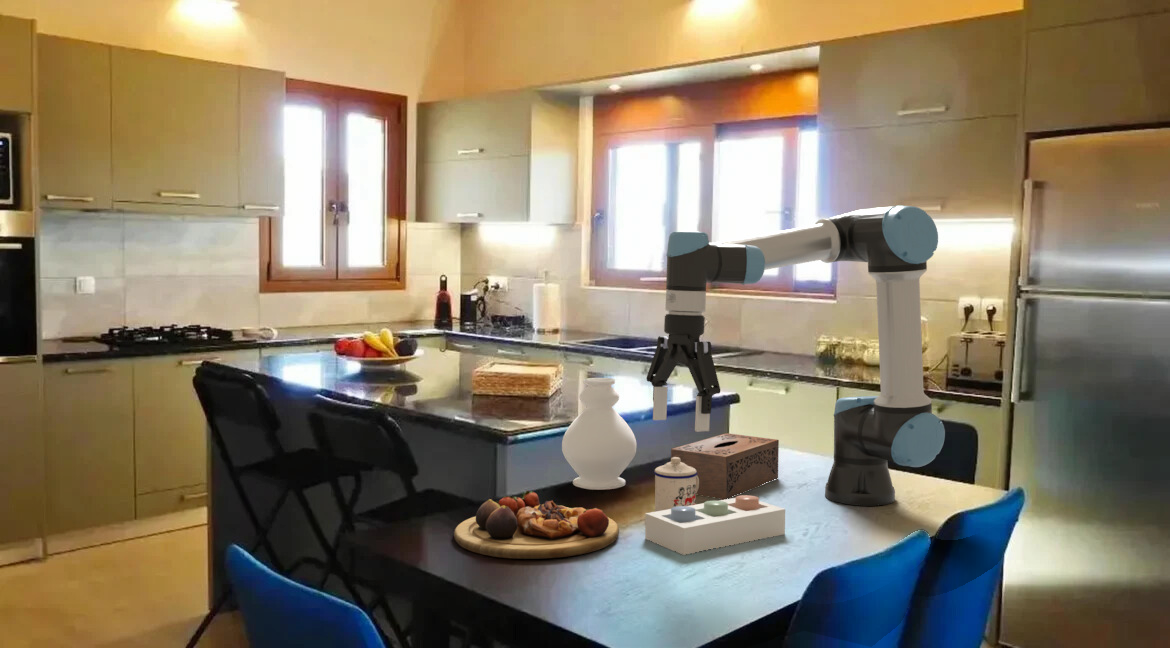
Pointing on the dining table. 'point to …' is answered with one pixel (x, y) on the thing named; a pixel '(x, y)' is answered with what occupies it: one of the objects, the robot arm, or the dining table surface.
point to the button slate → (683, 514)
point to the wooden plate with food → (534, 529)
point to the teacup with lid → (675, 485)
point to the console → (714, 527)
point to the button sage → (715, 508)
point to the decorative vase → (599, 439)
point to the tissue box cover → (730, 463)
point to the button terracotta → (747, 502)
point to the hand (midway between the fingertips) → (680, 425)
